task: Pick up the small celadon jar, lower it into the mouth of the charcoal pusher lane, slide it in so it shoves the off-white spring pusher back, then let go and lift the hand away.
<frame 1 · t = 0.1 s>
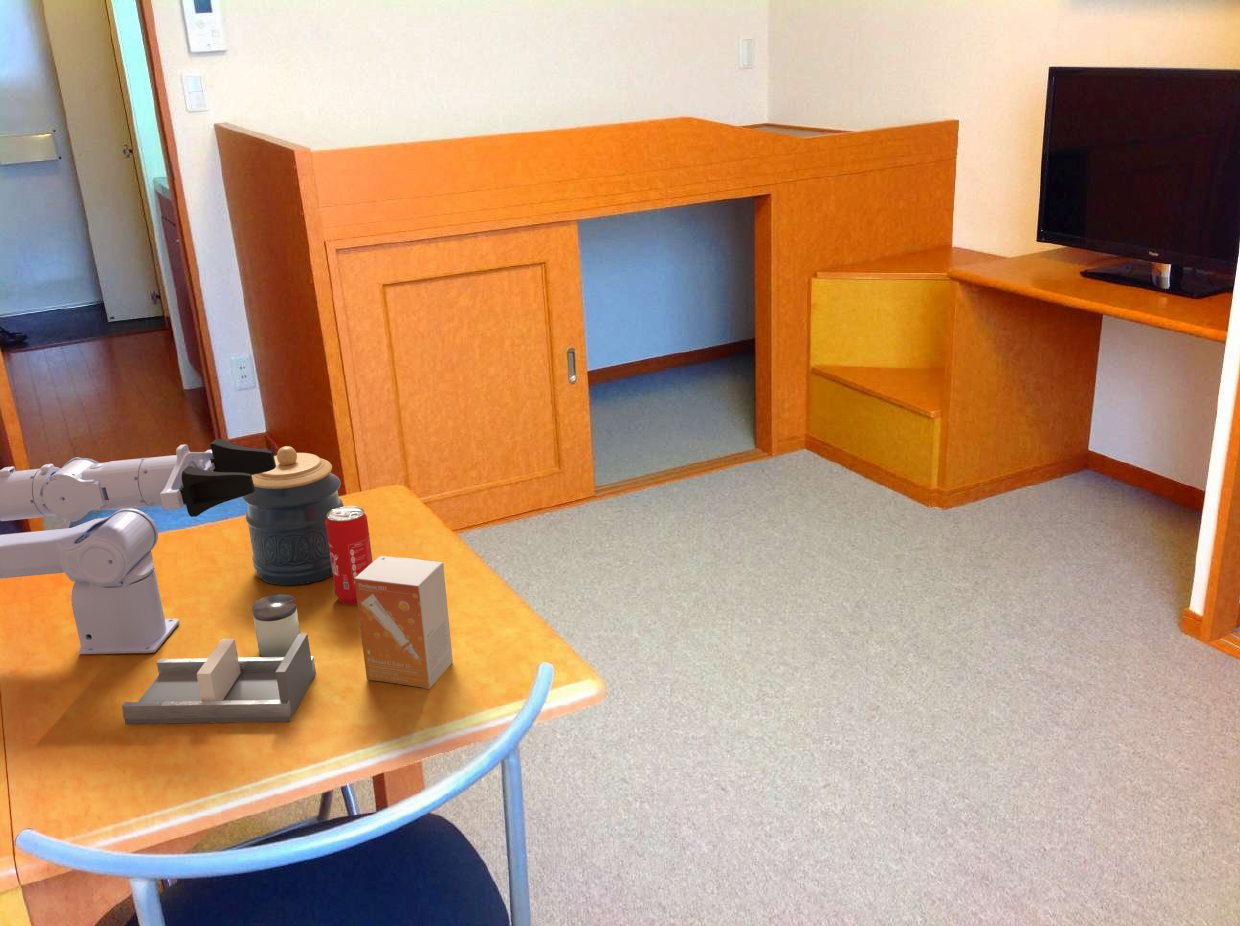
hand: (263, 471, 135), 22 cm above the table, tool horizontal, fingers open, 7 cm apart
spring pusher: (219, 673, 129), point 3 cm above the table, slide at 0.0 cm
small box: (410, 673, 133), on the table
canister: (303, 567, 162), on the table
pusher lane: (223, 697, 130), on the table
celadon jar: (280, 648, 140), on the table
beverage can: (356, 599, 152), on the table
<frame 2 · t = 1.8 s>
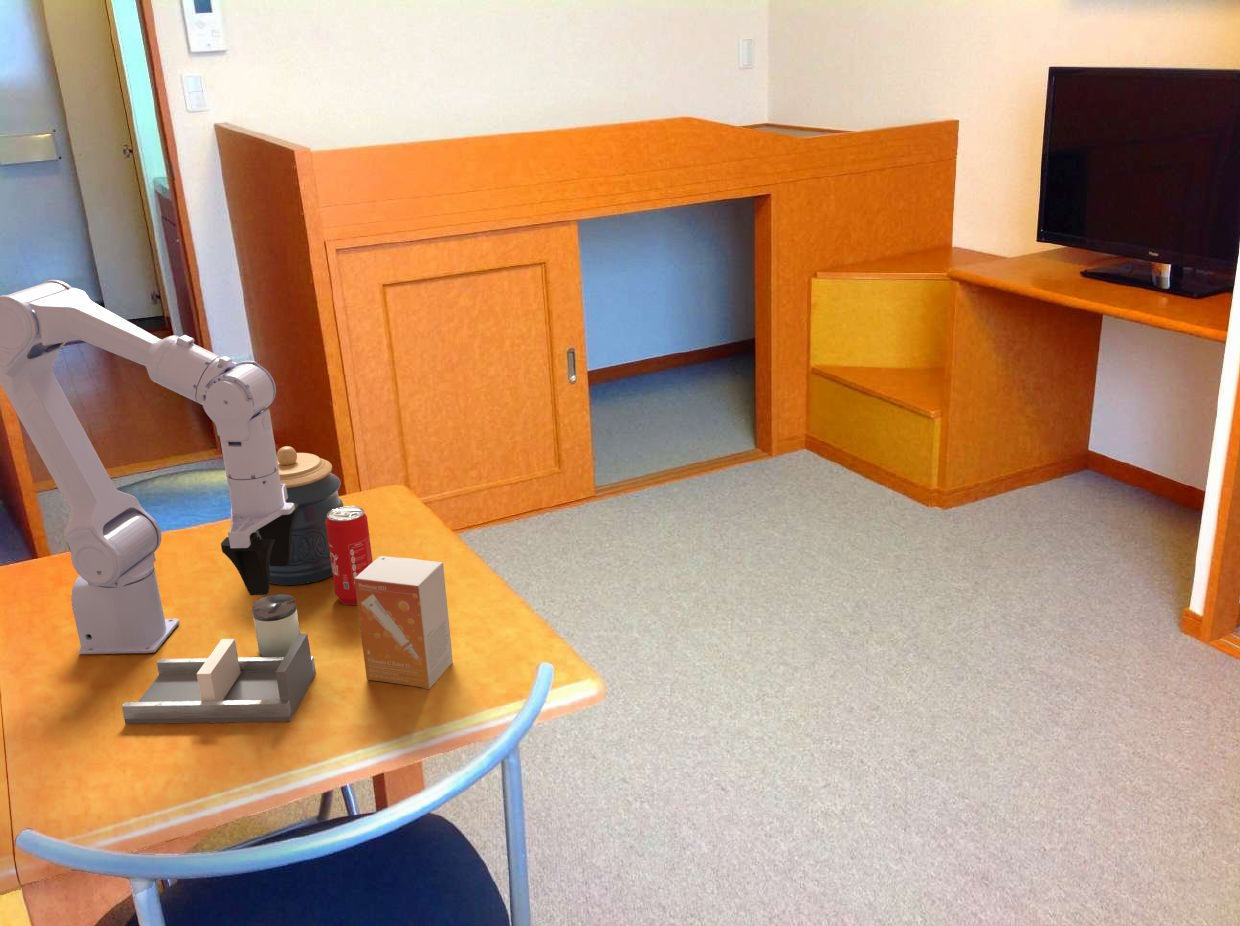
hand: (269, 579, 137), 9 cm above the table, tool pointing down, fingers open, 7 cm apart
nothing on the table moved.
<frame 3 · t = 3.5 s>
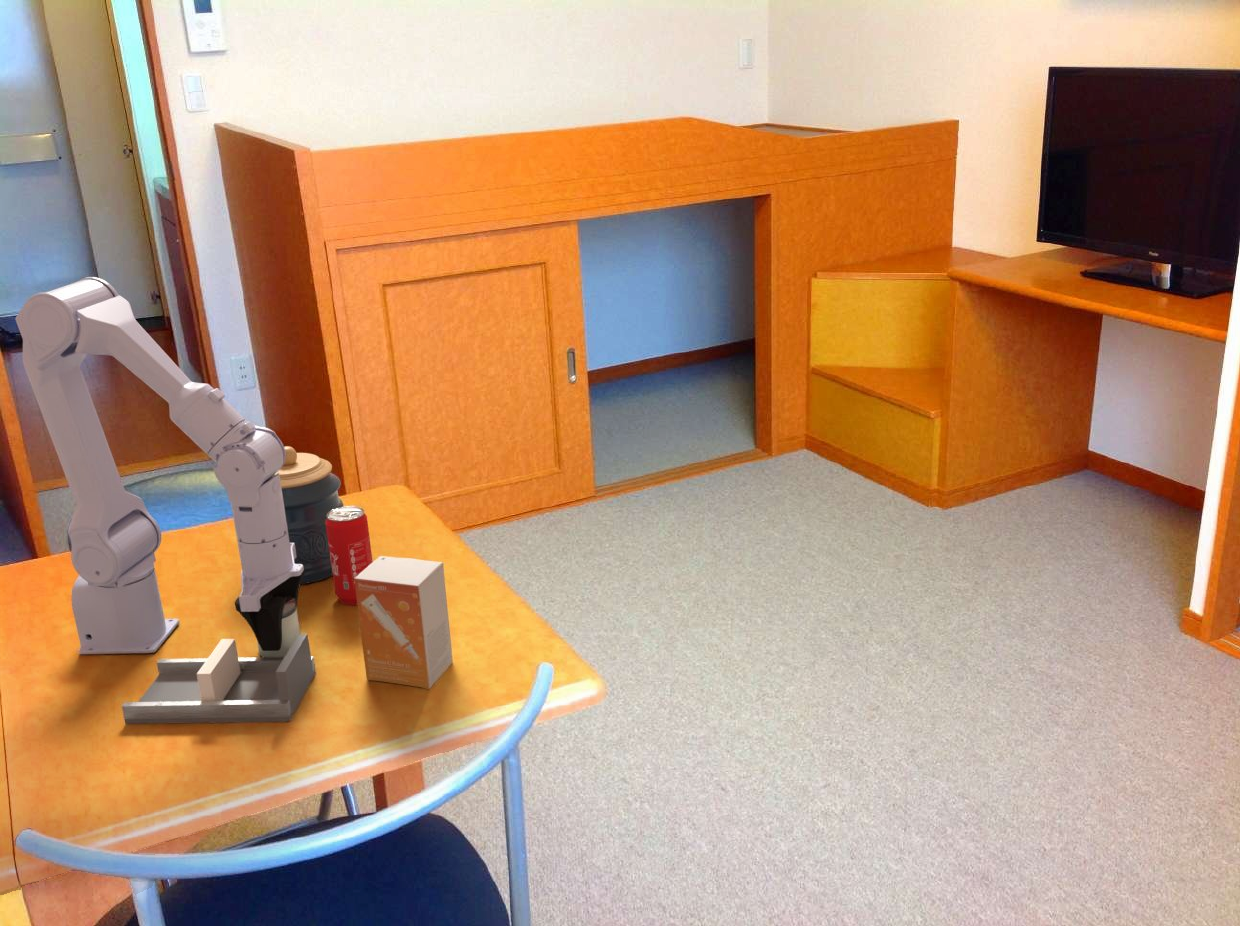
hand: (279, 637, 139), 1 cm above the table, tool pointing down, fingers closed on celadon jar, 5 cm apart
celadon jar: (280, 648, 140), on the table, touching gripper
everything else where it was.
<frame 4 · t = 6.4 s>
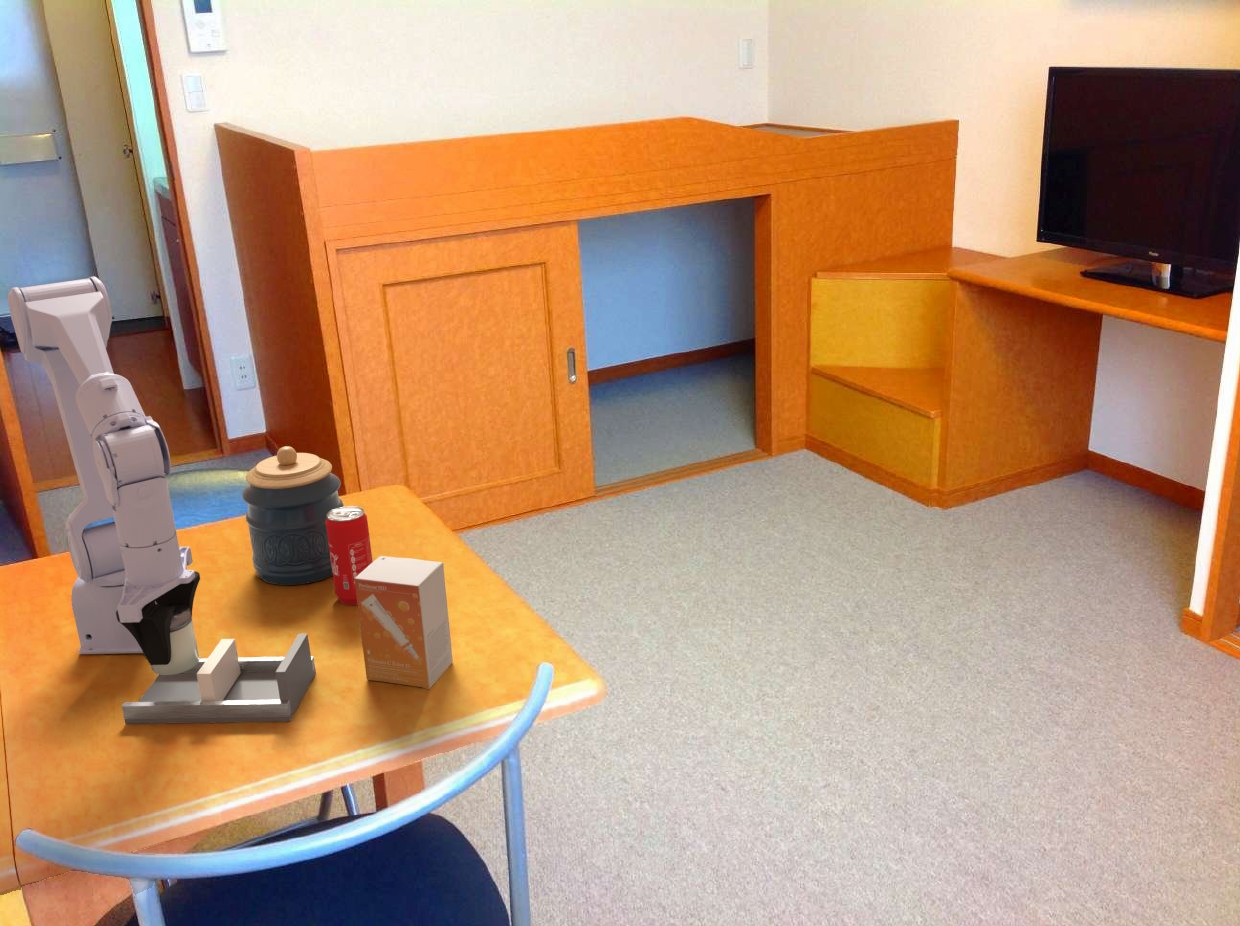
hand: (170, 650, 128), 6 cm above the table, tool pointing down, fingers closed on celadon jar, 5 cm apart
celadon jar: (175, 663, 128), point 4 cm above the table, touching gripper
everything else where it was.
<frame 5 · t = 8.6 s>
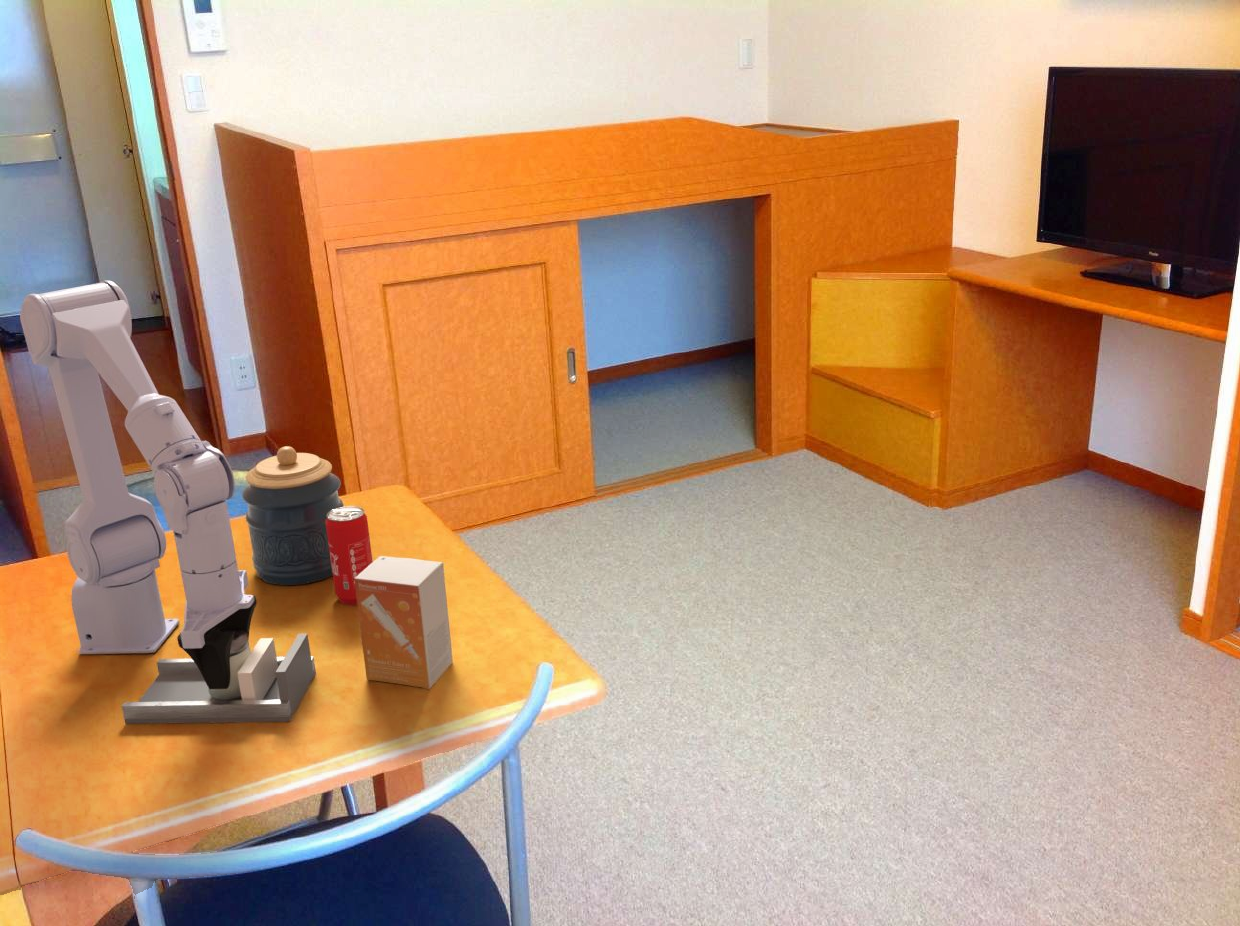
hand: (228, 674, 129), 3 cm above the table, tool pointing down, fingers closed on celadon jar, 5 cm apart
spring pusher: (258, 672, 128), point 3 cm above the table, slide at 4.4 cm, touching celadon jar
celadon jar: (232, 687, 129), point 1 cm above the table, touching gripper, spring pusher
everything else where it was.
when the fingers open (3 cm above the table, at t = 9.6 s): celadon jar stays where it is, resting on pusher lane.
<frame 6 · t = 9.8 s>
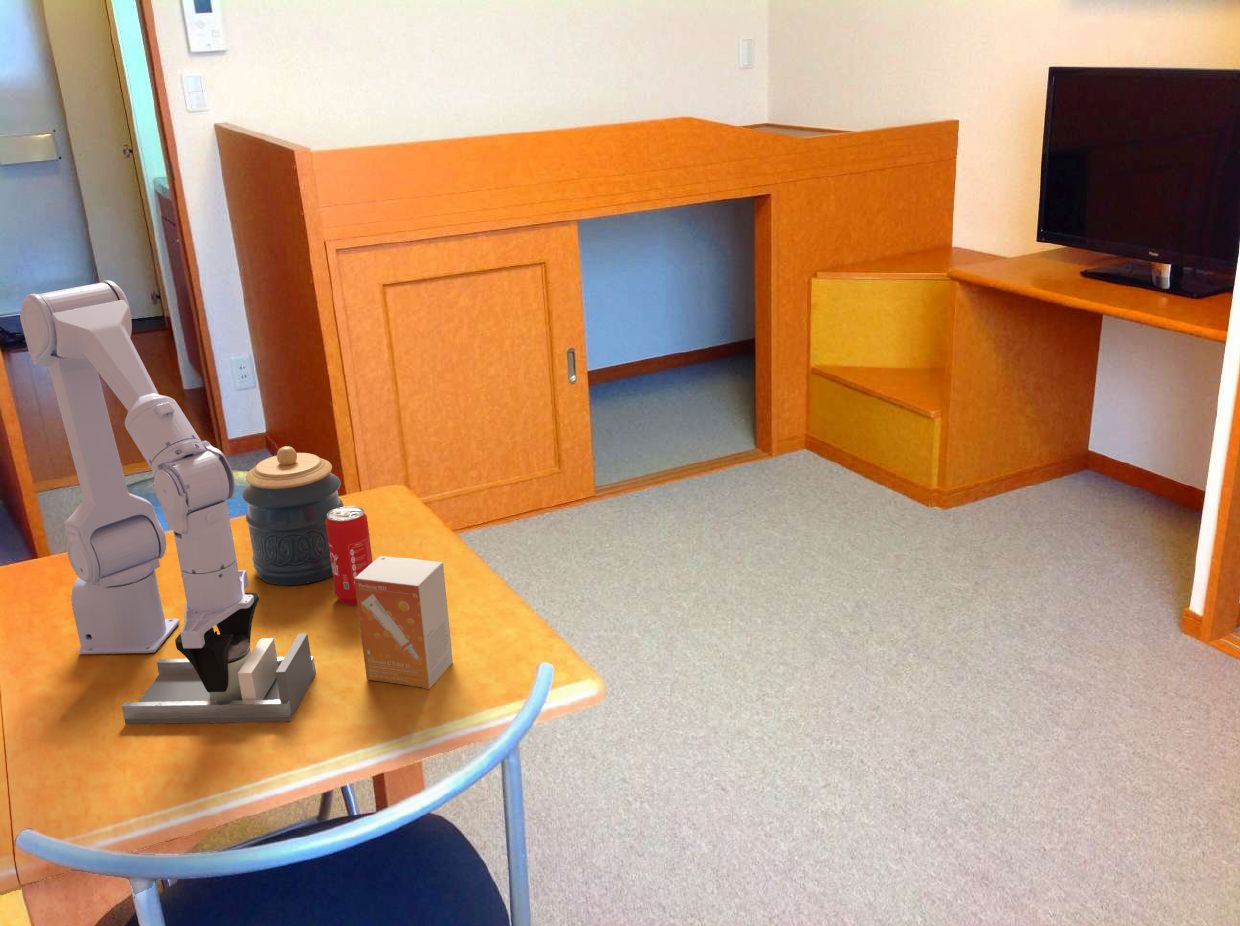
hand: (228, 673, 129), 3 cm above the table, tool pointing down, fingers open, 6 cm apart
spring pusher: (259, 672, 128), point 3 cm above the table, slide at 4.5 cm
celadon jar: (233, 692, 129), point 1 cm above the table, touching pusher lane
everything else where it was.
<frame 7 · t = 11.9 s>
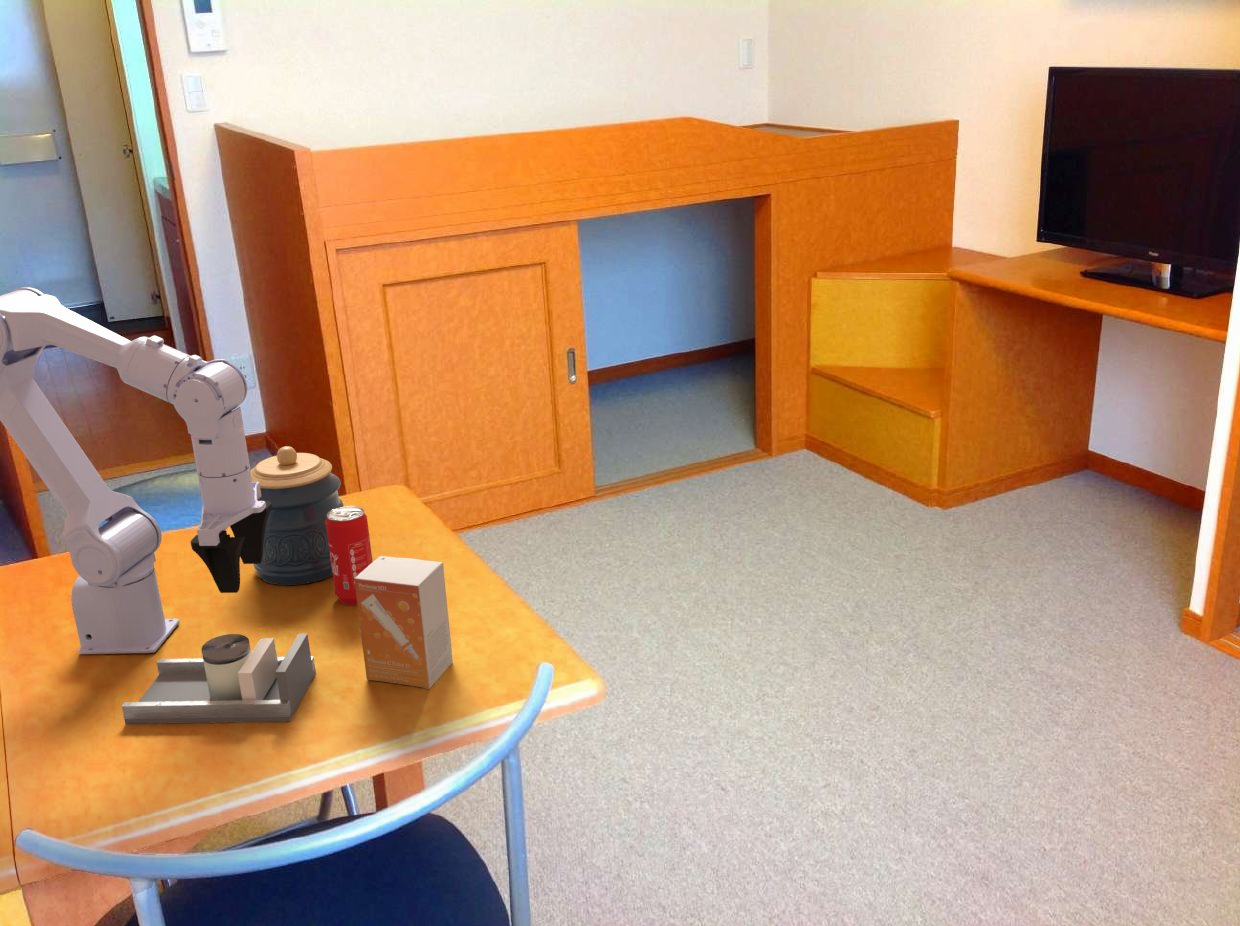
hand: (241, 576, 137), 9 cm above the table, tool pointing down, fingers open, 7 cm apart
nothing on the table moved.
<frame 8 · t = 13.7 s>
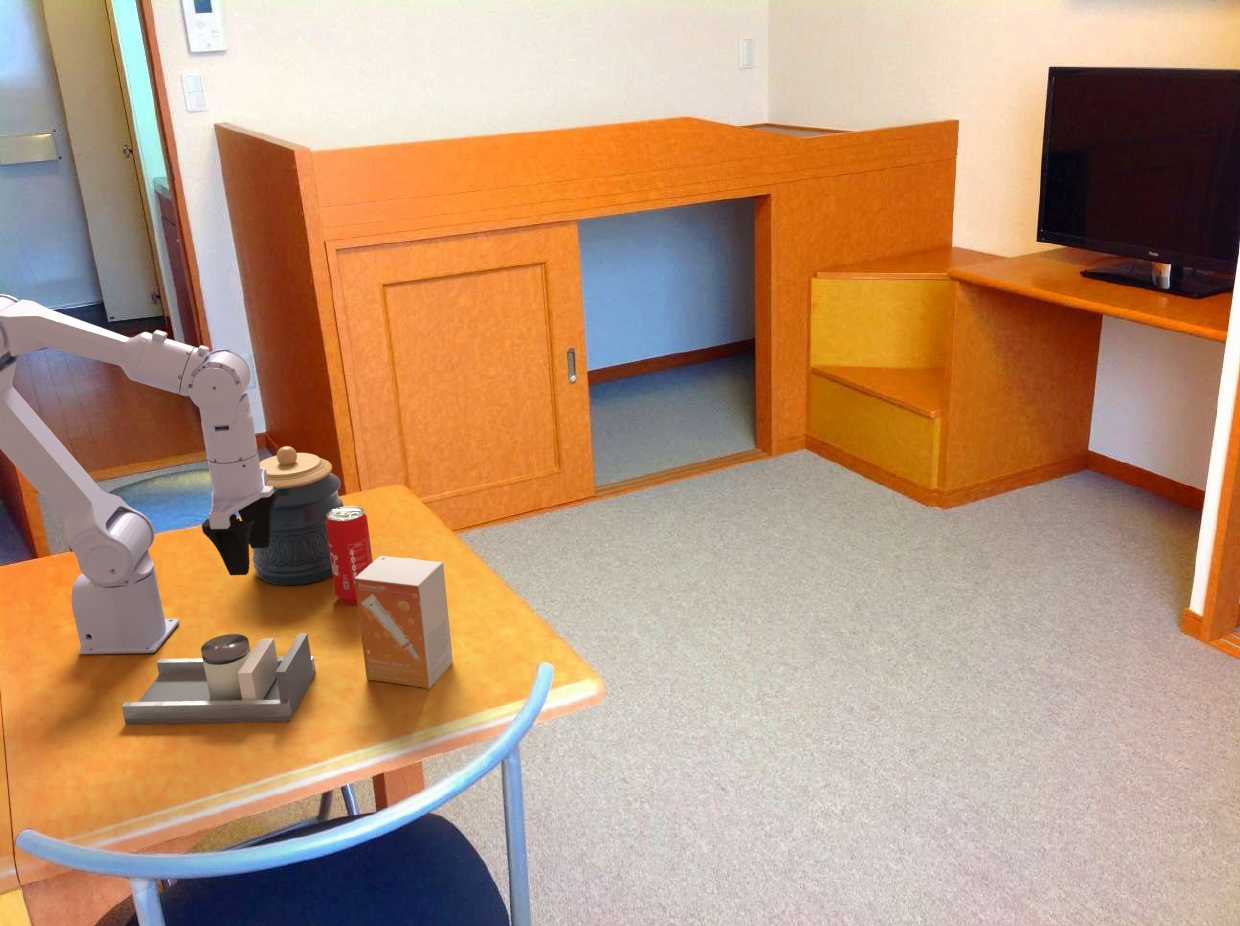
hand: (250, 560, 141), 9 cm above the table, tool pointing down, fingers open, 7 cm apart
nothing on the table moved.
at the end: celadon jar 0.3 cm from the target spot, point 0.6 cm above the table; spring pusher slide at 4.5 cm; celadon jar tilted 0° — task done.
